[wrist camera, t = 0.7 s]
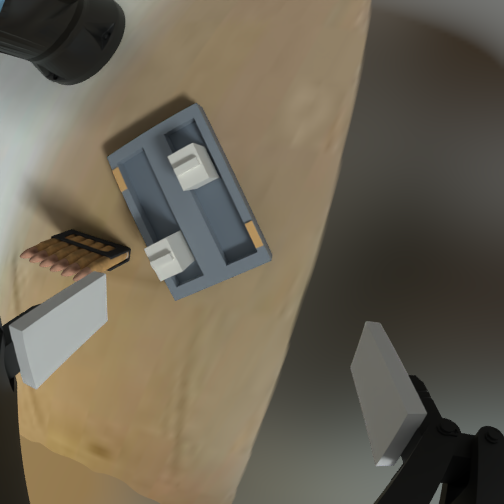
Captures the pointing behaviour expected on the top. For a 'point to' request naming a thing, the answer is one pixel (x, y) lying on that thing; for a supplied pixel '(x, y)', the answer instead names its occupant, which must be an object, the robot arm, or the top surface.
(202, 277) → the switch bank
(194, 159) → the tab
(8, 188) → the top surface
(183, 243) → the tab
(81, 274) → the ammunition clip
